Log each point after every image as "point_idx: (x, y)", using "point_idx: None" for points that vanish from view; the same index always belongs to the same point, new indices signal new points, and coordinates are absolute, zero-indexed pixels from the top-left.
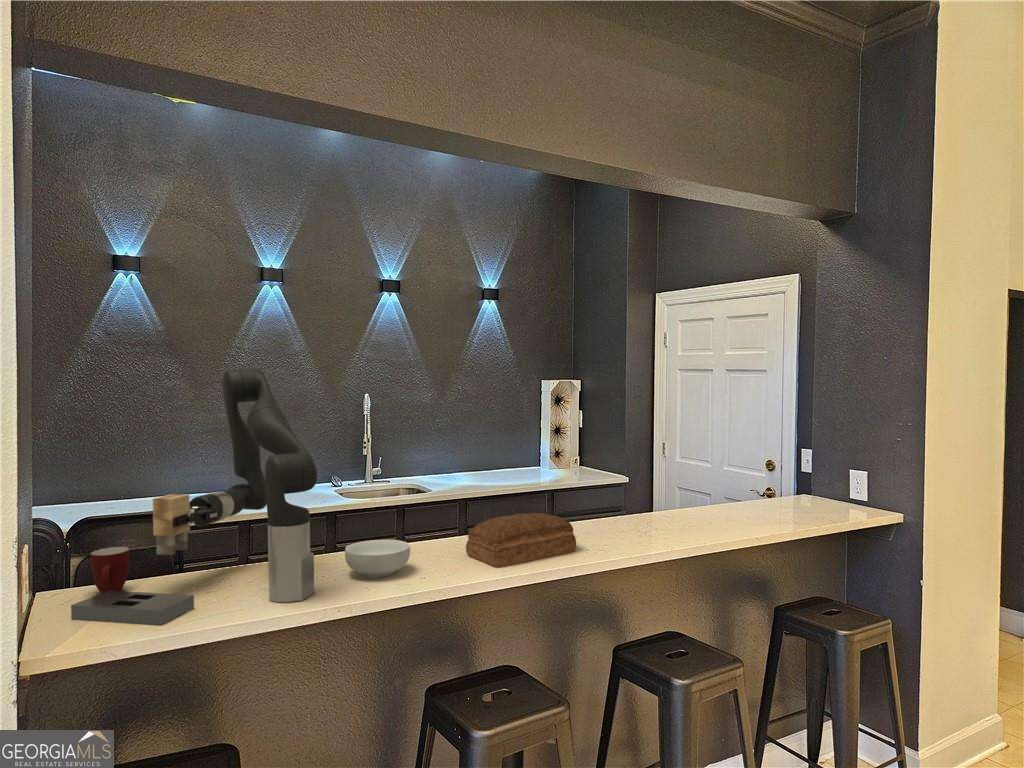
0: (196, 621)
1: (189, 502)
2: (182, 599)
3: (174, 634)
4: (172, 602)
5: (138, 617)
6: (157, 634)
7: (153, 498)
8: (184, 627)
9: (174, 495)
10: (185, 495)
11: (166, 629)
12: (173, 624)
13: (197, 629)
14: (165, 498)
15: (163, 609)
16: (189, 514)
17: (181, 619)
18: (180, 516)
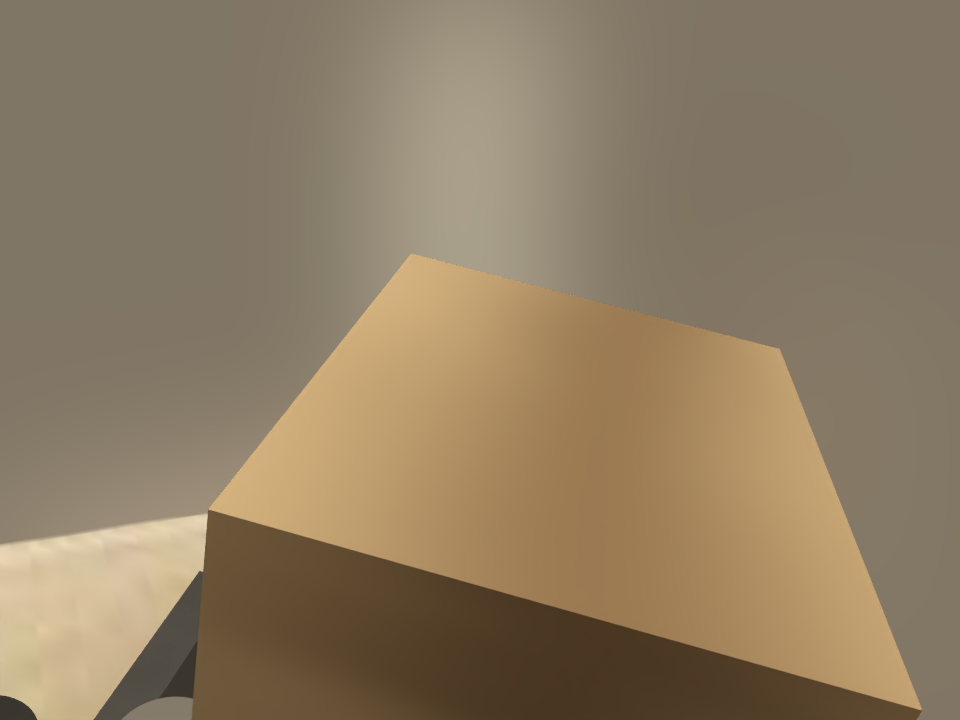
0: (14, 646)
1: (194, 703)
2: (115, 714)
3: (108, 532)
4: (170, 672)
5: None
6: (184, 544)
7: (780, 355)
8: (72, 588)
9: (606, 493)
10: (282, 421)
11: (157, 582)
12: (136, 629)
13: (5, 558)
14: (555, 305)
15: (193, 584)
16: (145, 709)
17: (105, 685)
18: None
